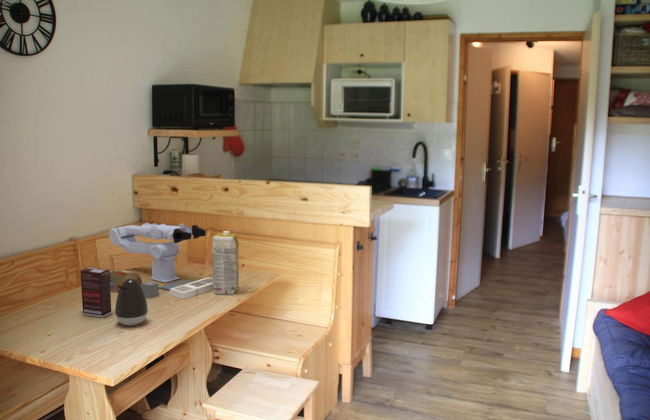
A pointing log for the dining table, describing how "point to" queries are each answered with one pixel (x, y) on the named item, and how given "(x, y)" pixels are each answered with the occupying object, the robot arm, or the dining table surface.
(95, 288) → the supplement box
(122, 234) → the robot arm
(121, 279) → the tin
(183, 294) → the outlet strip
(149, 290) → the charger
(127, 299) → the black egg-shaped piece
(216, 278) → the juice carton
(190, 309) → the dining table surface
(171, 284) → the phone
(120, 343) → the dining table surface
